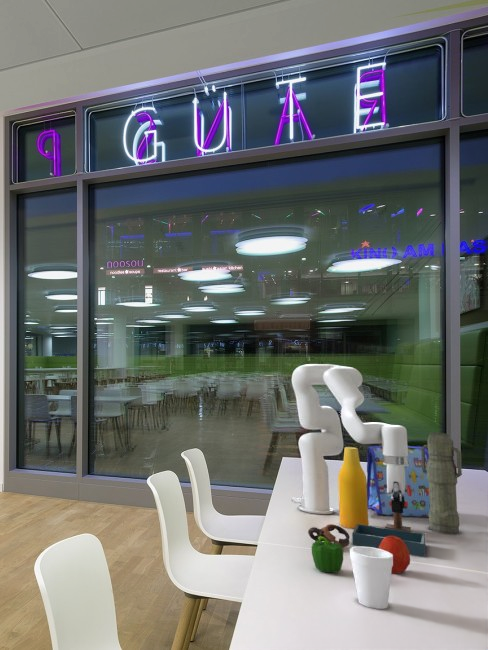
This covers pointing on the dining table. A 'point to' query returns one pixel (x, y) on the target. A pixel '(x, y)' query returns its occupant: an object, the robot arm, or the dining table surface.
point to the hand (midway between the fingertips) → (398, 509)
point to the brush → (398, 523)
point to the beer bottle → (352, 491)
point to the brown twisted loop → (329, 534)
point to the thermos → (442, 482)
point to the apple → (396, 553)
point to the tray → (375, 535)
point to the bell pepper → (327, 555)
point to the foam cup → (372, 575)
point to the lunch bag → (414, 483)
